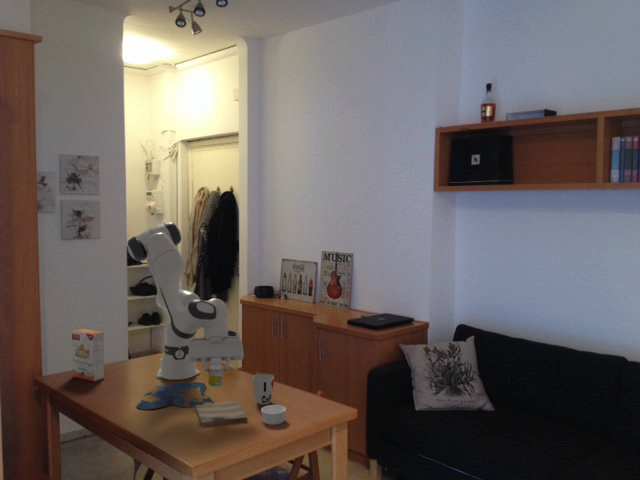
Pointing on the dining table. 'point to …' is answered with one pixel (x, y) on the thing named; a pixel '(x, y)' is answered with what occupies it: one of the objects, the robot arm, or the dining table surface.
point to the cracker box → (88, 354)
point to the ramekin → (273, 414)
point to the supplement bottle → (216, 373)
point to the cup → (263, 388)
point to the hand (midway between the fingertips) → (216, 370)
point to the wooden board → (220, 413)
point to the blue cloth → (174, 396)
